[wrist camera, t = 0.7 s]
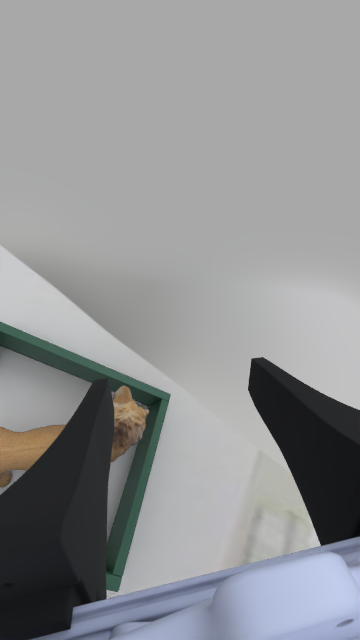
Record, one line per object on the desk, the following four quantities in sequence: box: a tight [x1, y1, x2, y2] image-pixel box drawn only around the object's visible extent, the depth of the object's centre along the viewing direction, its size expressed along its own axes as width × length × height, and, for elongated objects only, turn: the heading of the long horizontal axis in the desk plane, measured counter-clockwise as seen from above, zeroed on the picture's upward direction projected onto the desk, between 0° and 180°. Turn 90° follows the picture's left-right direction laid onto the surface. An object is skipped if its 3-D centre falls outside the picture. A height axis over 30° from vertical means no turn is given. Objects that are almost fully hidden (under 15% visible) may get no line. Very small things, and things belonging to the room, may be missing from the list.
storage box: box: [0, 322, 171, 592], centre depth 22 cm, size 15×18×4 cm
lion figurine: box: [0, 386, 149, 487], centre depth 19 cm, size 15×5×9 cm, turn 108°
